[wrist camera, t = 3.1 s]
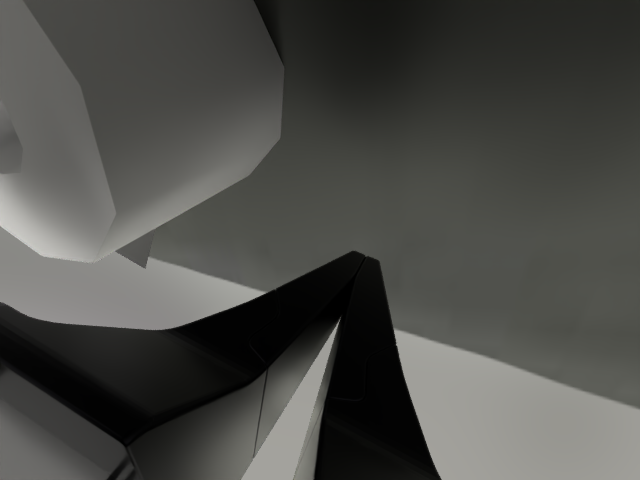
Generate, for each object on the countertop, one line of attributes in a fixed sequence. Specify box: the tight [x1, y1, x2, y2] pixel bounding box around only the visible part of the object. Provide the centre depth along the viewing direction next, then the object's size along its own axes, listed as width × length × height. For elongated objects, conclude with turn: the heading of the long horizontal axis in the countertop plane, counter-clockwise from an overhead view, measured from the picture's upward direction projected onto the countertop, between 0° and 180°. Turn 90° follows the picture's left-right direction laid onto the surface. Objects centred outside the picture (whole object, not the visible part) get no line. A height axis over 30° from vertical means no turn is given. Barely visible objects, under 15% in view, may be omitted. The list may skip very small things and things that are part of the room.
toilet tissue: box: [0, 0, 285, 268], centre depth 12 cm, size 9×13×9 cm
